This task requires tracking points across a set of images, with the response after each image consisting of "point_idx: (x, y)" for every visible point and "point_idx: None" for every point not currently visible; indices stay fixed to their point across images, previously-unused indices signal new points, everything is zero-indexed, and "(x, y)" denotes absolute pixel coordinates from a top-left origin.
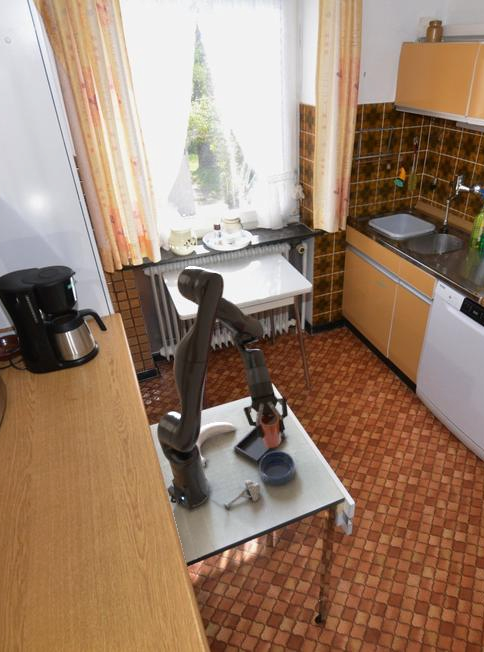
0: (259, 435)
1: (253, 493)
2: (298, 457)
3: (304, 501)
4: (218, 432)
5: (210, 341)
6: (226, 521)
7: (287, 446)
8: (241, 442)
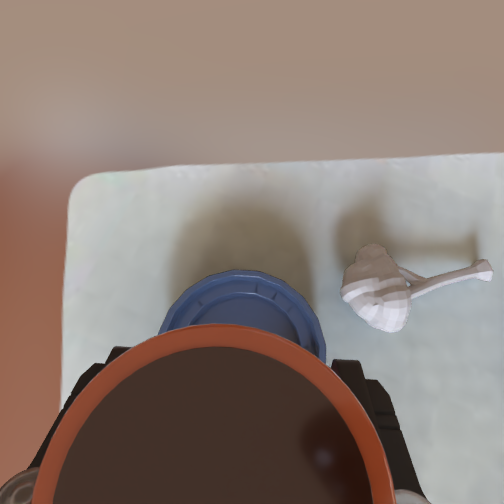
0: (378, 392)
1: (379, 257)
2: None
3: (196, 192)
4: None
5: None
6: (481, 220)
7: None
8: None
